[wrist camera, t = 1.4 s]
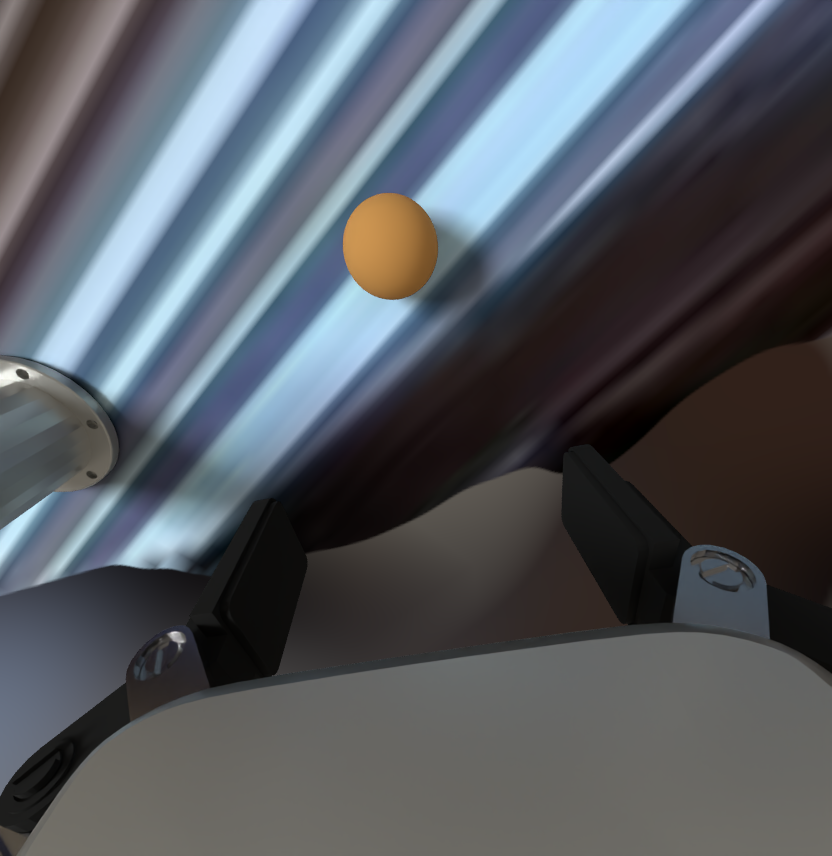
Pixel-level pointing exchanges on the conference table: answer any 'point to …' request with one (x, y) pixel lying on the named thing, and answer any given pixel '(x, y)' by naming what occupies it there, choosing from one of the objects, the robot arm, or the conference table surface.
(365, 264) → the ball
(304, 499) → the conference table surface
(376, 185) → the conference table surface
